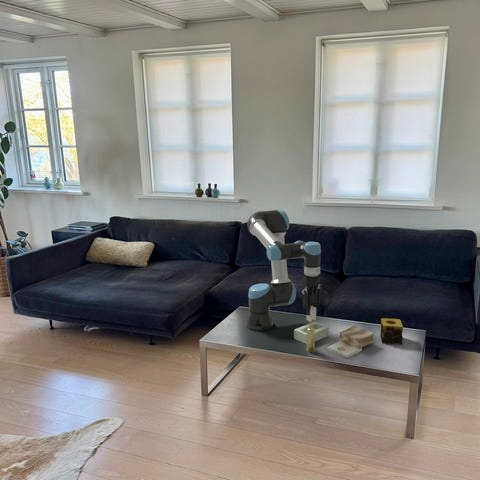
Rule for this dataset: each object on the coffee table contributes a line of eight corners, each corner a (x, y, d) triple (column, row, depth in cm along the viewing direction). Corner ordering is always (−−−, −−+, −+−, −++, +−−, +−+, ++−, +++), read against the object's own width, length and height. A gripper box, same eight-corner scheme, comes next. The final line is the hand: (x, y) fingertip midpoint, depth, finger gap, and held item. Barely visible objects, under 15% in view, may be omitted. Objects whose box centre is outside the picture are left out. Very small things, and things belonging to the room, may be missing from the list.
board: (327, 349, 227) (327, 346, 227) (342, 342, 235) (342, 339, 234) (346, 358, 218) (346, 355, 218) (361, 350, 225) (362, 347, 225)
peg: (304, 350, 227) (304, 328, 224) (310, 348, 229) (310, 326, 227) (310, 353, 224) (311, 330, 221) (316, 350, 226) (316, 328, 224)
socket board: (294, 338, 240) (294, 329, 239) (314, 329, 250) (314, 321, 249) (308, 344, 233) (308, 335, 232) (328, 335, 243) (328, 327, 242)
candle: (402, 345, 230) (403, 327, 228) (381, 343, 232) (382, 325, 230) (399, 336, 240) (401, 319, 238) (379, 335, 242) (380, 317, 240)
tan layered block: (339, 341, 233) (339, 332, 232) (353, 334, 240) (354, 325, 239) (359, 349, 224) (359, 340, 223) (373, 341, 231) (373, 333, 230)
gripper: (307, 279, 210) (306, 326, 215) (328, 272, 219) (327, 318, 225) (295, 275, 215) (294, 322, 221) (316, 269, 225) (315, 313, 231)
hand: (311, 319), depth 223 cm, fingers open, 2 cm apart
